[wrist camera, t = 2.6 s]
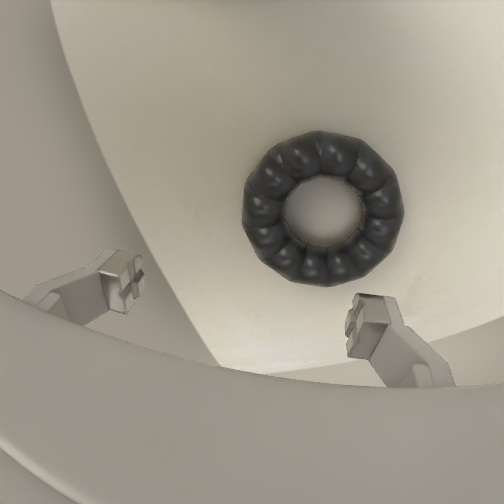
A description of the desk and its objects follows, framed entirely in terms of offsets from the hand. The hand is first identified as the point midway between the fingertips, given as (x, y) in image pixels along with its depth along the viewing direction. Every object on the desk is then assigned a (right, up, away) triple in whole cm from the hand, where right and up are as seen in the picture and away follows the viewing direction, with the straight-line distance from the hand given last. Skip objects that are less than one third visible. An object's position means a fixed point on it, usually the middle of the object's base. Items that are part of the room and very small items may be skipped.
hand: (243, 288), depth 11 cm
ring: (+5, +4, +7) cm, 9 cm away
